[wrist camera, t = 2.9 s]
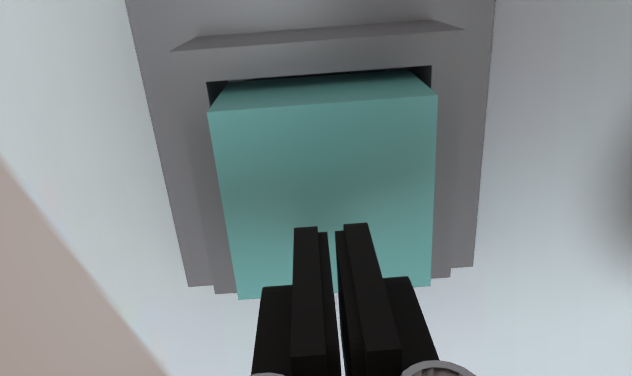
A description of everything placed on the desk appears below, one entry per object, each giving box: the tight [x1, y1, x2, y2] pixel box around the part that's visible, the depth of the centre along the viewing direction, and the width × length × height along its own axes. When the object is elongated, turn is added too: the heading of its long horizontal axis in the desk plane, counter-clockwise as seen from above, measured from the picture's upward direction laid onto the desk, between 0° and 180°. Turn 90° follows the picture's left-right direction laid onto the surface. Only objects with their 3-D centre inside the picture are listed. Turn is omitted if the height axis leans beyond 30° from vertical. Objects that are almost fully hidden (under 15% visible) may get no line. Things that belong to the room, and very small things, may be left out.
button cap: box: [207, 69, 438, 300], centre depth 16 cm, size 6×6×4 cm
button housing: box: [125, 0, 496, 294], centre depth 19 cm, size 14×14×5 cm
